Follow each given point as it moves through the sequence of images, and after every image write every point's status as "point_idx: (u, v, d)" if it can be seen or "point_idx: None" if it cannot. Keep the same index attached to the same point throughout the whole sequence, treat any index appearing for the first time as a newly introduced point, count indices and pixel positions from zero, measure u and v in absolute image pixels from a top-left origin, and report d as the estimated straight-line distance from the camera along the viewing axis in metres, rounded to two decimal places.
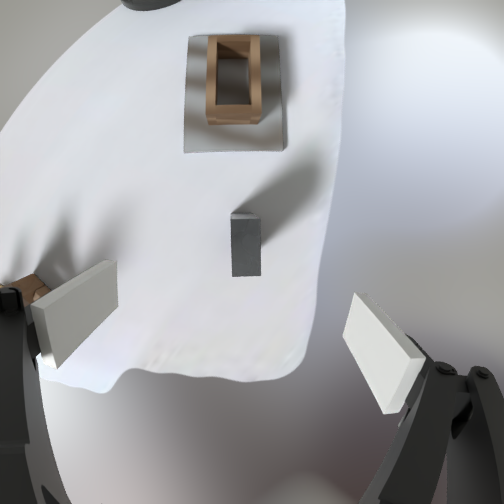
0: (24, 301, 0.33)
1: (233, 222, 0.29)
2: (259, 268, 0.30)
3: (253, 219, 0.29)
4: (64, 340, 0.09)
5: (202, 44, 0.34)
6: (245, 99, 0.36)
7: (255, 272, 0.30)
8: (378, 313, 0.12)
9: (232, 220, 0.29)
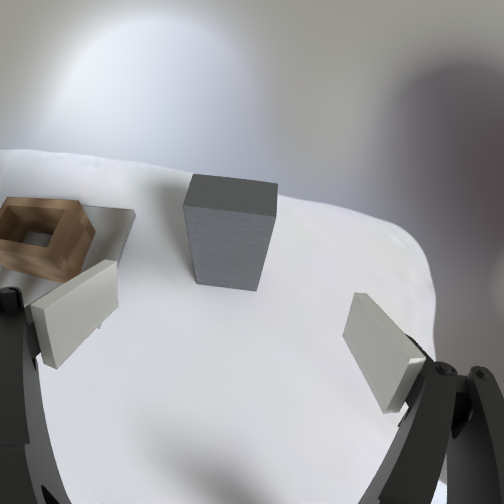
0: None
1: (189, 203, 0.18)
2: (266, 183, 0.19)
3: (192, 180, 0.19)
4: (64, 340, 0.09)
5: None
6: None
7: (272, 188, 0.19)
8: (378, 313, 0.12)
9: (186, 204, 0.18)
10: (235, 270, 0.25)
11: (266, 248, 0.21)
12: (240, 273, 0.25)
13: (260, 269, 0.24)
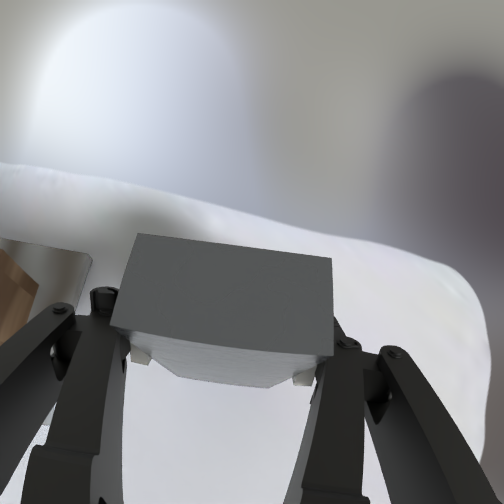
0: None
1: (123, 317, 0.07)
2: (306, 259, 0.08)
3: (134, 252, 0.08)
4: None
5: None
6: None
7: (320, 272, 0.08)
8: None
9: (116, 320, 0.07)
10: (236, 379, 0.14)
11: (295, 374, 0.10)
12: (245, 381, 0.14)
13: (278, 382, 0.13)
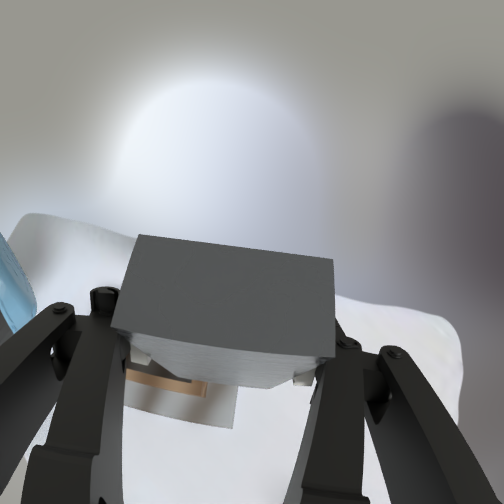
0: None
1: (124, 319, 0.07)
2: (308, 260, 0.08)
3: (135, 253, 0.08)
4: None
5: None
6: None
7: (321, 274, 0.08)
8: None
9: (117, 321, 0.07)
10: (237, 380, 0.14)
11: (296, 375, 0.10)
12: (246, 382, 0.14)
13: (279, 382, 0.13)
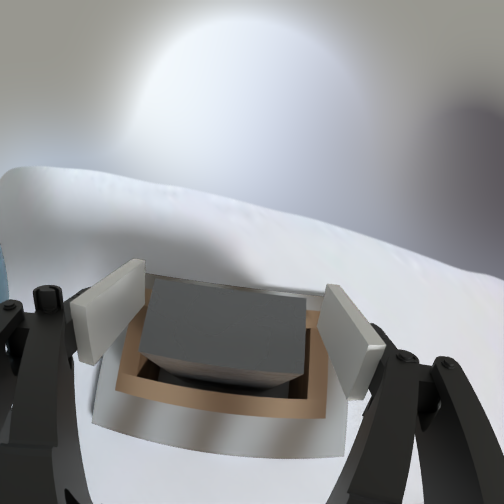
0: None
1: (148, 345, 0.09)
2: (286, 299, 0.11)
3: (153, 294, 0.10)
4: (101, 337, 0.10)
5: (115, 404, 0.18)
6: None
7: (296, 310, 0.11)
8: (346, 303, 0.13)
9: (142, 347, 0.09)
10: (234, 385, 0.16)
11: (280, 383, 0.13)
12: (241, 386, 0.16)
13: (269, 387, 0.16)
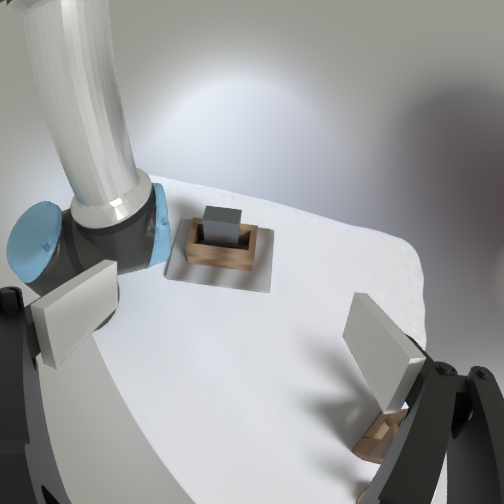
0: (386, 434, 0.34)
1: (205, 218, 0.45)
2: (236, 210, 0.47)
3: (205, 208, 0.47)
4: (64, 340, 0.09)
5: (177, 267, 0.54)
6: None
7: (239, 212, 0.47)
8: (378, 313, 0.12)
9: (203, 218, 0.45)
10: None
11: (237, 237, 0.49)
12: None
13: (236, 248, 0.52)
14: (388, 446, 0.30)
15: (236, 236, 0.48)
